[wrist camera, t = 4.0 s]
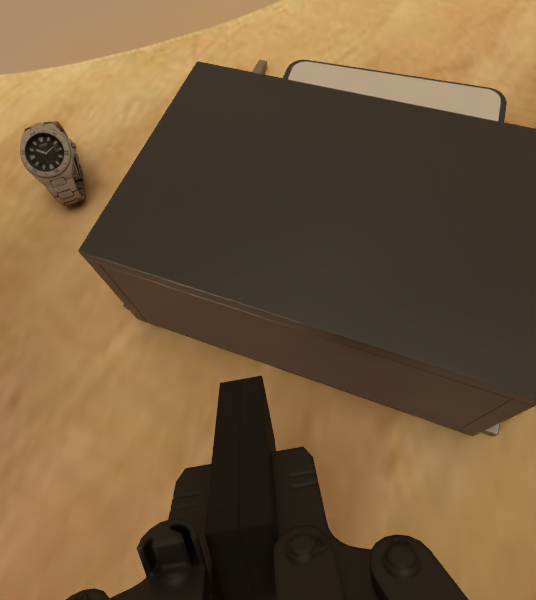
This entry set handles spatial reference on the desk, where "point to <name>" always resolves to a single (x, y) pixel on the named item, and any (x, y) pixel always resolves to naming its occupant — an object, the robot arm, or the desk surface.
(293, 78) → the phone case
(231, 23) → the desk surface
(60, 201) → the wristwatch
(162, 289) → the cover
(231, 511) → the robot arm
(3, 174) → the desk surface
